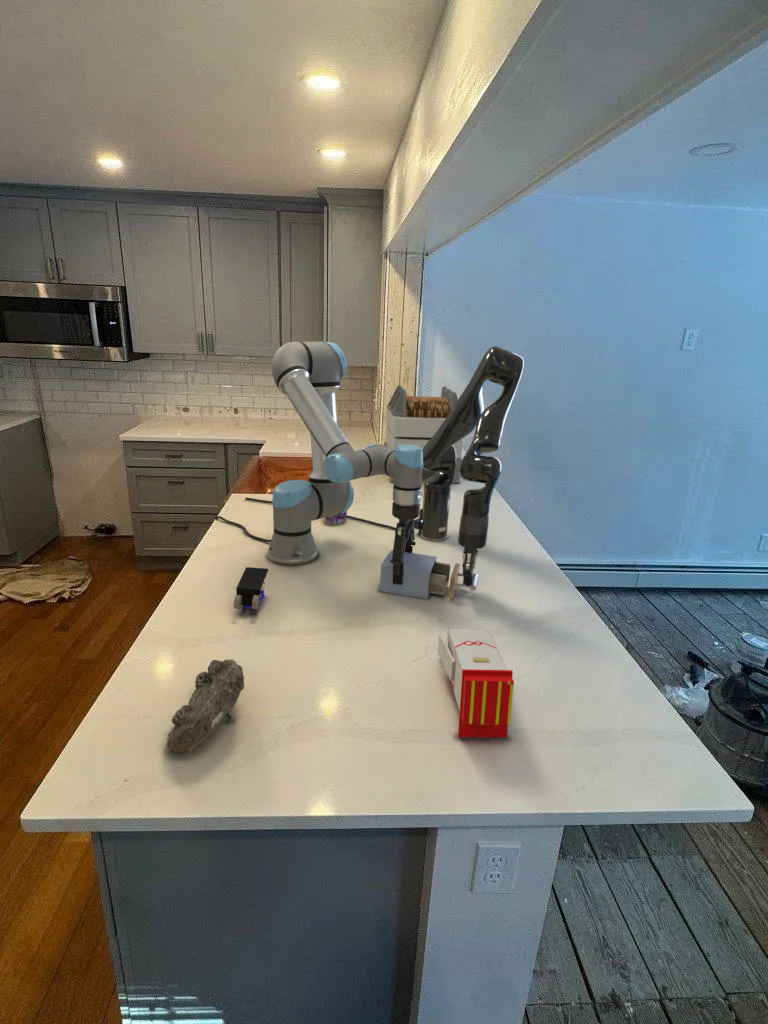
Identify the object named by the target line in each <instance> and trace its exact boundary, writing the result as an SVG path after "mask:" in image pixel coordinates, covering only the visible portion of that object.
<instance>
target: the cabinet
mask: <svg viewBox="0 0 768 1024" xmlns="http://www.w3.org/2000/svg"><path fill="white" fill-rule="evenodd" d="M392 555H393V549H390V550H389V552H388V554H387V555H386V557H385V558H384V560H383V562H382V563H381V564H380V579H379V580H380V581H379V592H383V593H390V594H397V595H403V596H408V597H414V598H420V599H428V598H429V596H430V594H431V593H428V591H429V579H430V573H431V570H432V568H433V566H434V563H435V562H437V556H435V555H428V554H421V553H415V552H412V553H408V552H404V557H403V562H404V566H403V584H402V585H398V584H392V581H393V564H392V563H391V562H390V560H392Z"/></svg>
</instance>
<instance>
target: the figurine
mask: <svg viewBox="0 0 768 1024" xmlns="http://www.w3.org/2000/svg"><path fill="white" fill-rule="evenodd" d="M347 513H348V510H347V511H346V512H344V513H340V514H339V515H336V516H329V517H325V518H323V520H324V524H325V525H328V526H335V525H336V526H337V525H341V524H343V523H345V522H346V521H347V518H346V515H348V514H347Z"/></svg>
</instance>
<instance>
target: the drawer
mask: <svg viewBox="0 0 768 1024" xmlns="http://www.w3.org/2000/svg"><path fill="white" fill-rule="evenodd" d="M450 574H451V575H450ZM459 577H463V578H464V575H463V574H462V573H461V572H460V563H457V562H456V563H455V564H454V566H453V569H452V573H451V563H445V562H439V561H436V562H435V563H434V566H433V568H432V570H431V573H430V579H429V591H428V593H430V594H434V595H439V596H445V595H446V592H447V589H448V586H449V590H448V599H451V600H453V599H454V597H455V593H456V590H457V588H458V587H461V588H467V589H469V590H470V591H472V592H474V591H476V589H477V586H478V581H479V577H480V576H479V574H478V573H473V575H472V581H471V584H470V585H465V584H463V583H459Z"/></svg>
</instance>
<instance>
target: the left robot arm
mask: <svg viewBox="0 0 768 1024" xmlns="http://www.w3.org/2000/svg"><path fill="white" fill-rule="evenodd" d="M346 358H347V357H346V355H345V353H344V351H343V349H342V348H340V346H339V345H338V344H337V343H335V342H331V341H322V340H321V341H290V342H287V343H284V344H283V345H281V346H280V347H279V348H278V349H277V350H276V352H275V353H274V356H273V358H272V361H271V375H272V379H273V382H274V383H275V385H276V387H277V389H278V391H279V392H280V393H281V394H283V395H286V396H287V398H288V400H289V401H290V402H291V404H292V406H293V407H294V409H295V411H296V412H297V414H298V416H299V417H300V419H301V420H302V422H303V424H304V425H305V428H306V429H307V430H308V432H309V433H310V435H309V436H310V448H311V463H312V471H311V472H310V474H308V480H305V479H296V480H295V479H291V480H290V479H289V480H285V481H283V482H280V483H278V484H277V485H275V487H274V489H273V491H272V499H271V501H272V504H271V505H272V523H273V525H272V526H273V533H272V536H271V539H267V538H262V537H259V536H256V535H254V534H251V533H250V532H248V530H247V529H246V527H245V526H244V525H242V524H240V523H238V522H235V521H231V520H229V519H226V518H224V517H223V516H221V515H217V516H215V517H214V520H218V519H220V520H221V521H223V522H225V523H228V524H230V525H234V526H237V527H239V528H241V529H242V530H243V531H244V533H245V534H246V535H247V536H248V537H250V538H252V539H256V540H258V541H260V542H261V541H262V542H266V543H269V546H268V550H267V556H268V559H269V560H270V561H272V562H274V563H276V564H280V565H285V566H287V565H288V566H296V565H304V564H307V563H309V562H312V561H313V560H315V559H316V558H317V556H318V548H317V545H316V542H315V539H314V536H313V533H312V521H317V520H322V519H325V517H329V516H336V515H339V514H340V513H344V512H346V511H347V512H348V511H349V509H350V508H351V507H352V505H353V504H354V503H353V502H354V498H355V491H354V486H353V485H352V482H351V481H353V480H359V479H363V478H370V477H373V476H374V477H375V476H379V475H384V476H388V477H389V476H390V477H394V482H392V483H393V484H392V501H393V502H392V505H391V506H392V508H391V515H392V516H393V517H394V518H396V519H397V520H398V522H397V523H396V525H395V526H396V527H395V530H394V540H393V548H392V550H393V555H392V560H390V562H391V563H392V564H393V581H392V584H398V585H402V584H403V566H404V562H403V557H404V552H408V553H413V547H414V546H415V547H416V543H417V542H416V541H415V540H416V538H415V537H416V536H415V529H414V520H416V519H418V518H419V515H420V510H421V504H420V502H421V497H422V496H423V492H422V491H421V490H422V477H423V469H424V468H423V450H422V449H421V448H420V447H419V446H415V445H399V446H397V447H396V448H395V449H392V448H389V447H386V446H384V444H379V443H370V444H368V445H367V446H366V447H364V448H363V449H358V450H354V448H353V446H352V445H351V444H350V442H349V441H348V439H347V437H346V436H345V434H344V433H343V431H342V429H341V428H340V426H339V425H338V415H337V397H336V392H337V391H338V390H339V388H340V387H341V383H340V382H341V380H343V379H344V377H345V376H346V373H347V368H348V364H347V363H348V362H347V359H346Z"/></svg>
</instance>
